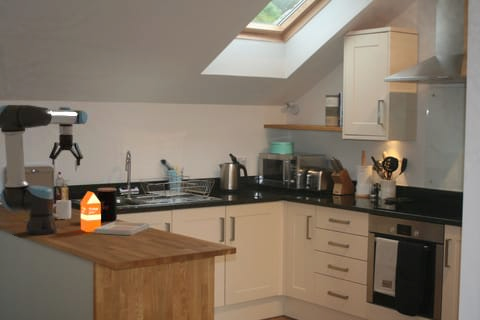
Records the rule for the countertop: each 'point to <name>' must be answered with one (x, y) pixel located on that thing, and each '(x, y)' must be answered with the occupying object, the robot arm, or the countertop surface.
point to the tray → (121, 228)
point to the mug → (63, 209)
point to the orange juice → (90, 212)
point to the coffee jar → (108, 203)
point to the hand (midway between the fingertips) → (66, 171)
